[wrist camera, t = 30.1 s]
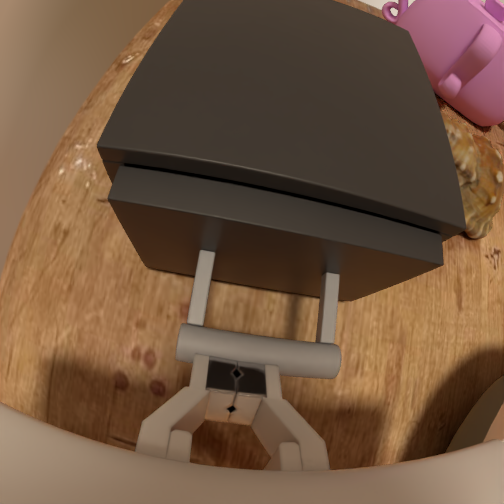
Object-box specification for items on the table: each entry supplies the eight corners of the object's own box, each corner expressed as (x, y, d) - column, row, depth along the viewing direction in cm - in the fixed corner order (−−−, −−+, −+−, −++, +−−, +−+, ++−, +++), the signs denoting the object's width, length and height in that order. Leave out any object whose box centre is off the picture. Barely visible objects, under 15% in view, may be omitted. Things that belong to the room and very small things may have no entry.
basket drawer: (344, 375, 16) (440, 383, 8) (129, 346, 14) (70, 341, 7) (351, 130, 21) (401, 55, 14) (196, 94, 20) (203, 0, 12)
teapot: (419, 112, 25) (502, 13, 12) (357, 6, 31) (394, -69, 18) (514, 145, 29) (579, 90, 15) (453, 44, 35) (493, -10, 21)
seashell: (406, 244, 24) (423, 150, 16) (400, 174, 28) (404, 85, 20) (500, 249, 21) (544, 166, 12) (482, 180, 24) (505, 98, 16)
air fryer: (354, 285, 18) (467, 229, 9) (142, 248, 17) (95, 146, 8) (352, 118, 23) (408, 30, 14) (195, 82, 21) (204, -26, 12)
